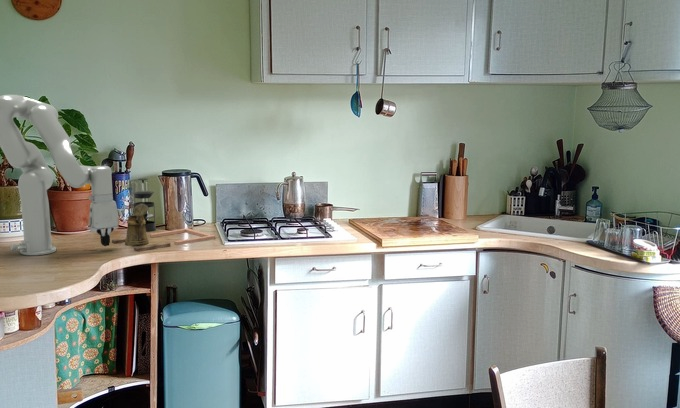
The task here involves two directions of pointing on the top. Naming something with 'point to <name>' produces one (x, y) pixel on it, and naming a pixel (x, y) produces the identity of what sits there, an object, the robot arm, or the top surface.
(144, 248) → the walnut dock
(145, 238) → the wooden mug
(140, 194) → the french press
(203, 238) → the frame
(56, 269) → the top surface
